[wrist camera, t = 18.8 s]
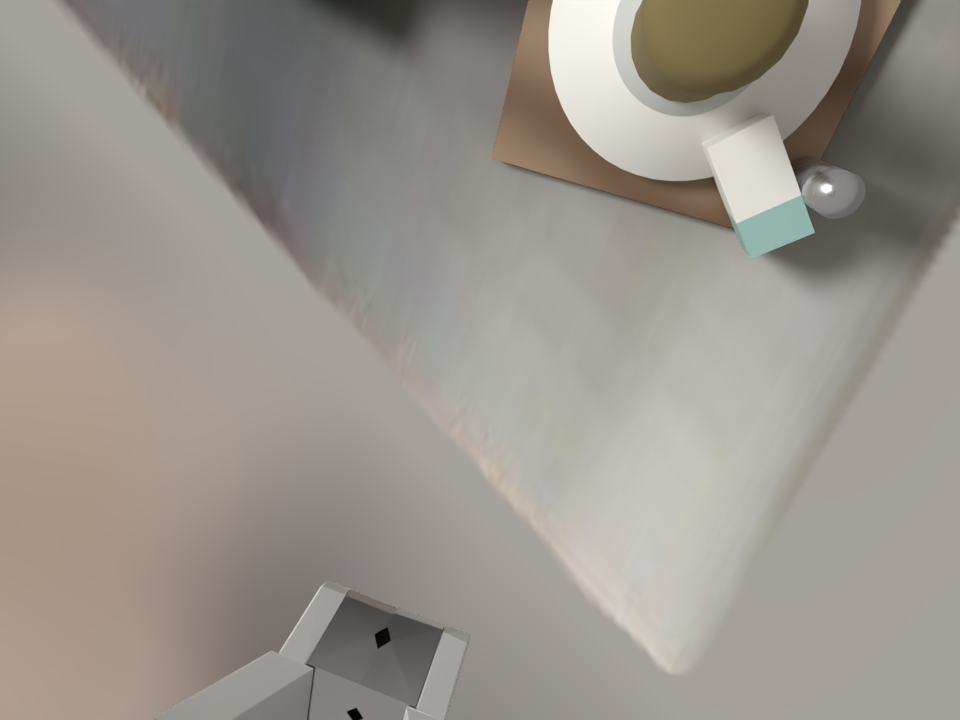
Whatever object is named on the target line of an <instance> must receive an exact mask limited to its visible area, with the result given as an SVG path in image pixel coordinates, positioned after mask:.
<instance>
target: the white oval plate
mask: <svg viewBox="0 0 960 720" xmlns="http://www.w3.org/2000/svg"><path fill="white" fill-rule="evenodd" d="M642 1H643V0H553V3H552V7H551V13H550V22H549V32H548V35H549V60H550V68H551V74H552V78H553V82H554V86H555V90H556V93H557V96H558V98H559V101H560V103H561V106H562V108H563V110H564V112H565V114H566V116H567V118H568V119H569V121H570V123H571V125H572V126H573V127H574V129H575V130H576V131H577V133H578V134H579V135H580V137H581V138H582V139H583V140H584V141H585V142H586V143H587V144H588V145H589V146H590V147H591V148H592V149H593V150H594V151H595V152H596V153H598V154H599V155H600V156H601V157H603V158H604V159H605V160H607V161H608V162H610V163H612V164H614V165H615V166H617V167H619V168H621V169H623V170H625V171H628V172H630V173H633V174H635V175H639V176H643V177H647V178H651V179H656V180H666V181H690V180H697V179H703V178H709V177H713V178H714V180H715V183H716V185H717V188H718V190H719V193H720V195H721V198H722V200H723V203H724V205H725V208H726V211H727V213H728V216H729V218H730V221H731V223H732V226H733V228H734V231H735V233H736V236H737V238H738V241H739V243H740V244H741V246H742V247H743V249H744V250H745V252H746V253H747V255H748V256H749V258H750V259H752V258H755V257H757V256H759V255H762V254H764V253H767V252H769V251H772V250H774V249H777V248H779V247H781V246H784V245H786V244H789V243H791V242H794V241H796V240H799V239H801V238H803V237H806V236H808V235H811V234H813V233H815V231H814V229H813V226H812V223H811V220H810V217H809V214H808V212H807V209H806V206H805V203H804V200H803V198H802V195H801V192H800V189H799V186H798V183H797V181H796V178H795V175H794V172H793V169H792V166H791V164H790V161H789V158H788V155H787V152H786V150H785V147H784V144H783V140H785V139H786V138H787V137H788V136H789V135H790V134H791V133H793V132H794V131H795V130H796V129H797V128H798V127H799V126H800V125H801V124H802V123H803V122H804V121H805V120H806V118H807V117H808V116H809V115H810V114H811V113H812V112H813V111H814V109H815V108H816V107H817V105H818V104H819V103H820V101H821V100H822V99H823V97H824V96H825V95H826V93H827V92H828V90H829V88H830V87H831V85H832V83H833V82H834V80H835V78H836V77H837V75H838V73H839V71H840V69H841V67H842V65H843V63H844V60H845V58H846V56H847V54H848V51H849V49H850V46H851V43H852V40H853V36H854V33H855V30H856V27H857V22H858V17H859V12H860V7H861V0H809V4H808V7H807V10H806V13H805V16H804V19H803V22H802V24H801V27H800V30H799V33H798V35H797V36H796V38H795V39H794V41H793V42H792V44H791V45H790V47H789V48H788V50H787V51H786V52H785V54H784V55H783V57H782V58H781V60H779V61H778V62H777V63H776V64H775V65H774V66H773V67H772V68H770V69H769V70H768V71H767V72H766V73H765V74H764V75H762V76H761V77H760V78H759V79H757V80H755V81H753V82H751V83H749V84H747V85H745V86H743V87H741V88H739V89H737V90H735V91H731V92H725V93H720V94H717V95H715V96H713V97H711V98H709V99H707V100H701V101H695V102H689V103H683V102H677V101H670V100H666V99H664V98H663V97H661V96H659V95H657V94H656V93H654V92H652V91H651V90H650V89H649V88H648V87H647V86H646V84H645V83H644V82H643V81H642V80H641V78H640V77H639V76H638V73H637V71H636V68H635V65H634V63H633V60H632V56H631V37H630V36H631V31H632V27H633V23H634V18H635V14H636V12H637V10H638V8H639V6H640V4H641V2H642Z"/></svg>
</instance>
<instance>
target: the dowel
mask: <svg viewBox="0 0 960 720" xmlns="http://www.w3.org/2000/svg"><path fill="white" fill-rule="evenodd" d="M791 166H792V169H793V172H794V175H795V178H796V181H797V183H798V186H799V189H800V192H801V195H802V198H803V200H804V203H805V204H806V205H807V206H809V207H810V208H812V209H813V210H815V211H816V212H817V213H819V214H820V215H822V216H824V217H826V218H830V219H839V218H843V217H846V216H848V215H850V214H852V213H853V212H855V211H856V210H857V209H858V208H859V207H860V205H861V204H862V202H863V201H864V198H865V194H866V186H865V183H864V181H863V180H862V179H861V177H859V176H858V175H856V174H854V173H852V172H849V171H847V170H844V169H842V168H839V167H837V166H834V165H832V164H829V163H827V162H824V161H822V160H819V159H816V158H814V157H802V158H799V159H797V160H795V161H793V162H792V163H791Z"/></svg>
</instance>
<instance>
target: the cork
mask: <svg viewBox="0 0 960 720" xmlns="http://www.w3.org/2000/svg"><path fill="white" fill-rule="evenodd" d="M808 4H809V0H643V1H642V2H641V4H640V6H639V8H638V10H637V12H636V14H635V18H634V23H633V27H632V31H631V36H630V37H631V56H632V60H633V63H634V65H635V68H636V71H637V73H638V76H639V77H640V78H641V80H642V81H643V82H644V83H645V84H646V86H647V87H648V88H649V89H650V90H651V91H652V92H654V93H656V94H657V95H659V96H661V97H663V98H664V99H666V100H670V101H677V102H683V103H689V102H695V101H701V100H707V99H709V98H711V97H713V96H715V95H717V94H720V93H725V92H731V91H735V90H737V89H739V88H741V87H743V86H745V85H747V84H749V83H751V82H753V81H755V80H757V79H759V78H760V77H761V76H762V75H764V74H765V73H766V72H767V71H768V70H769V69H770V68H772V67H773V66H774V65H775V64H776V63H777V62H778V61H779V60H781V58H782V57H783V55H784V54H785V52H786V51H787V50H788V48H789V47H790V45H791V44H792V42H793V41H794V39H795V38H796V36H797V35H798V33H799V30H800V27H801V24H802V22H803V19H804V16H805V13H806V10H807V7H808Z"/></svg>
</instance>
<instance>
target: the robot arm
mask: <svg viewBox="0 0 960 720" xmlns="http://www.w3.org/2000/svg"><path fill="white" fill-rule="evenodd" d="M444 627H445V628H444ZM469 639H470V634H467V633H464V632H462V631H459V630H456V629H453V628H450V627H447V626H445V624H442V623H440V622H436V621H434V620H431V619H429V618H426V617H423V616H420V615H418V614H414V613H412V612H409V611H406V610H403V609H401V608H396V607H394V606H391V605H389V604H386V603H384V602H381V601H379V600H376V599H373V598H371V597H368V596H366V595H364V594H361V593H359V592H356V591H354V590H351V589H349V588H346V587H344V586H341V585H339V584H336V583H333V582H331V581H328V580H327V581H326V582H325V583H324V584H323V585H322V586H321V587H320V588H319V590H318V592H317V593H316V595H315V596H314V598H313V599H312V601H311V603H310V604H309V606H308V607H307V609H306V611H305V612H304V614H303V615H302V617H301V619H300V620H299V622H298V623H297V625H296V626H295V628H294V630H293V631H292V633H291V634H290V636H289V638H288V639H287V641H286V642H285V644H284V645H283V647H282V649H281V650H280V652H279V653H276V652H273V651H270V652H268V653H267V654H265V655H263V656H261V657H260V658H258V659H256V660H254V661H253V662H251V663H249V664H247V665H246V666H244V667H242V668H240V669H239V670H237V671H235V672H233V673H232V674H230V675H228V676H226V677H225V678H223V679H221V680H219V681H218V682H216V683H214V684H212V685H211V686H209V687H207V688H205V689H204V690H202V691H200V692H198V693H197V694H195V695H193V696H191V697H190V698H188V699H186V700H184V701H183V702H181V703H179V704H177V705H176V706H174V707H172V708H170V709H169V710H167V711H165V712H163V713H162V714H160V715H158V716H157V717H155V718H153V719H151V720H446V716H447V713H448V710H449V707H450V703H451V700H452V697H453V693H454V690H455V687H456V683H457V680H458V677H459V673H460V670H461V666H462V663H463V660H464V656H465V653H466V650H467V647H468V643H469Z"/></svg>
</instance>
